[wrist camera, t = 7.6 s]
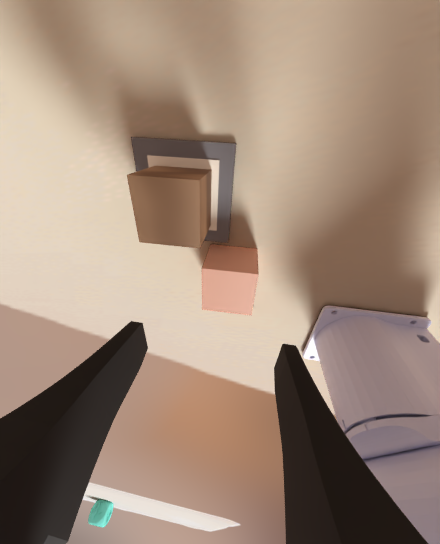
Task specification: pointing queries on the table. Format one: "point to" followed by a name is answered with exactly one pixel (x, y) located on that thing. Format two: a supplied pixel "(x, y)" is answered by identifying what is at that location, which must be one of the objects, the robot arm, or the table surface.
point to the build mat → (199, 157)
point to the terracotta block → (229, 279)
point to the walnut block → (171, 205)
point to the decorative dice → (100, 513)
